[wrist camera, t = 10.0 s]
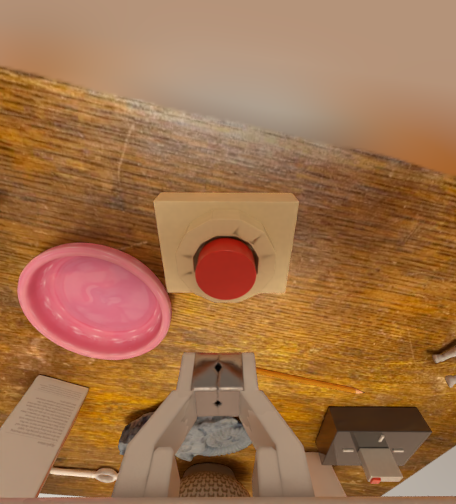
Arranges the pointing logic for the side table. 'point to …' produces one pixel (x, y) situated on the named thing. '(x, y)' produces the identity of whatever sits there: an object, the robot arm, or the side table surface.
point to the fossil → (199, 436)
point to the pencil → (307, 381)
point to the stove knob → (379, 465)
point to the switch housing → (370, 433)
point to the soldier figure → (438, 358)
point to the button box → (226, 235)
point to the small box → (36, 435)
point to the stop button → (225, 269)
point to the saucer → (95, 301)
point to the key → (88, 473)
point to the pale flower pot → (323, 477)
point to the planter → (210, 482)
